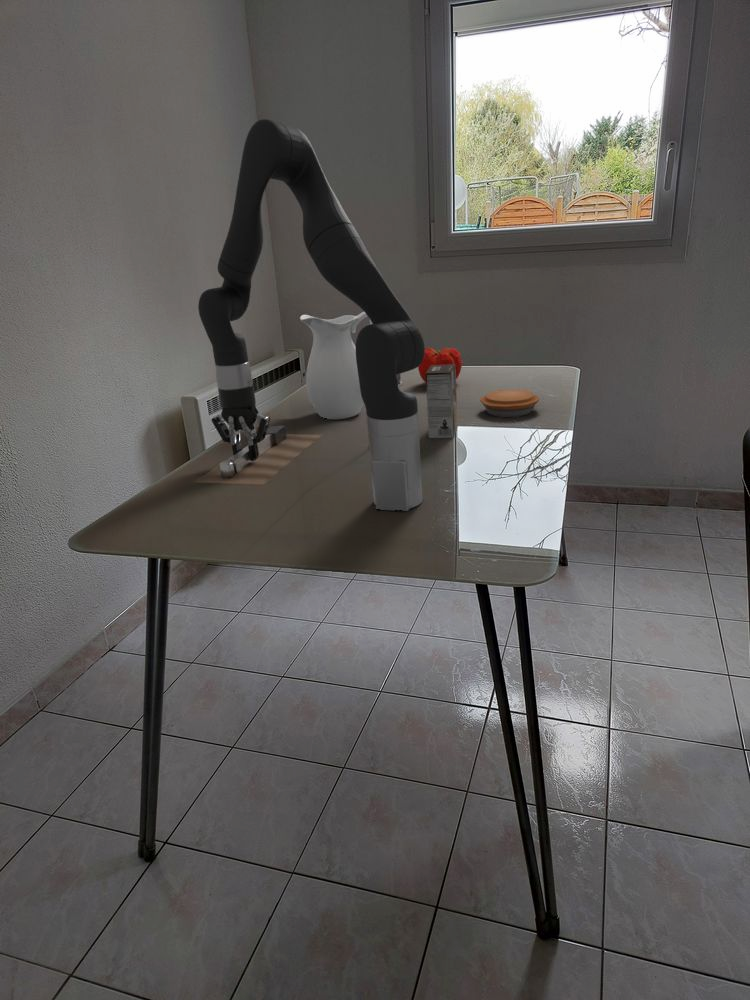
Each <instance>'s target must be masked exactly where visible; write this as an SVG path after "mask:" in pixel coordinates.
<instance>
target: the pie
mask: <svg viewBox="0 0 750 1000" xmlns="http://www.w3.org/2000/svg"><path fill="white" fill-rule="evenodd" d="M479 401H480V402H481V404H482V405H483V407H484V408H485V409H486V411H487V413H488V414H490V415H491V416H494V415H495V416H494V417H499V416H501V417H500V418H516V416H517V417H522V415H523V416H527V415H529V414H530V413H532V411H533V410H534V408H535V405H537V404H538V403H539V401H540V396H539V395H538V394H535V393H533V392H531V391H529V390H525V389H524V390H523V389H501V390H494V391H491V392H489V393H487V394H485V395H484V396H482V397H480V399H479Z"/></svg>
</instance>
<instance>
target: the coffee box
mask: <svg viewBox="0 0 750 1000" xmlns="http://www.w3.org/2000/svg"><path fill="white" fill-rule="evenodd" d="M425 387H426V388H425V389H426V407H427V408H426V410H427V429H428V431H427V432H428V438H429V439H454V438H455V436H456V432H457V429H458V427H459V425H458V401H457V379H456V364H450V365H431V366H430V367H429V369H428V370H427V372H426V383H425Z"/></svg>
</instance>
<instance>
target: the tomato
mask: <svg viewBox="0 0 750 1000" xmlns="http://www.w3.org/2000/svg"><path fill="white" fill-rule="evenodd" d="M462 362H463V361H462V356H461V353H460V352H459V351H458V349H457V348H453V347H450V348H448V347H445V348H443V349H441V350H440V349H437V350H435V349H433V348H432V347H425V354H424V359H423V361H422V363H421V364H420V365H419V366H418V367H417V368H418V372H419V376H420V378H421V379H422V380H423V381H424V383H425V384H426V372H427V370H428V369H429V367H430V366H431V365H450V364H456V380H457V379H458V378H459V376H460V374H461V371H462V367H463V366H462V365H463V364H462Z"/></svg>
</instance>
